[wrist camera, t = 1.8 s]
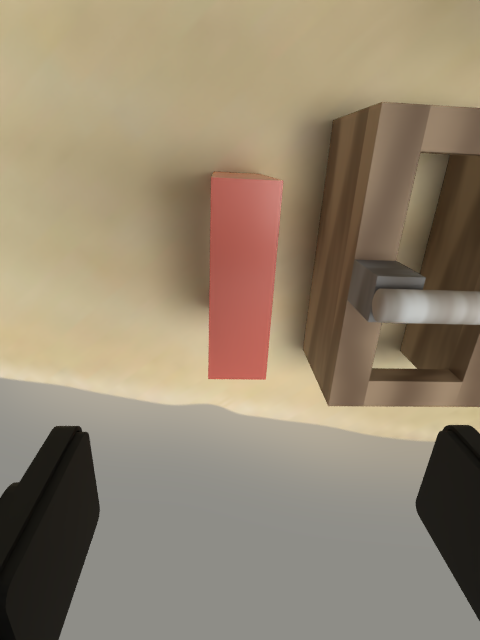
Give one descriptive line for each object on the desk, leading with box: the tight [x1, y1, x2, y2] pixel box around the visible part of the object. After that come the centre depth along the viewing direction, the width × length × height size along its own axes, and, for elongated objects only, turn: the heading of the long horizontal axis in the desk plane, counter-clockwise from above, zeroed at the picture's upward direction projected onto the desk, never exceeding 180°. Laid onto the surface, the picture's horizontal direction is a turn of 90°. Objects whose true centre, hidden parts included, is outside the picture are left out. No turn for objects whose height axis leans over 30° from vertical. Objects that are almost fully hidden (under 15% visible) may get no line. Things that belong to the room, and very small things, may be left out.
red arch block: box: [208, 172, 283, 379], centre depth 28 cm, size 4×13×13 cm, turn 177°
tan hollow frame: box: [303, 102, 480, 407], centre depth 28 cm, size 14×22×16 cm, turn 177°
